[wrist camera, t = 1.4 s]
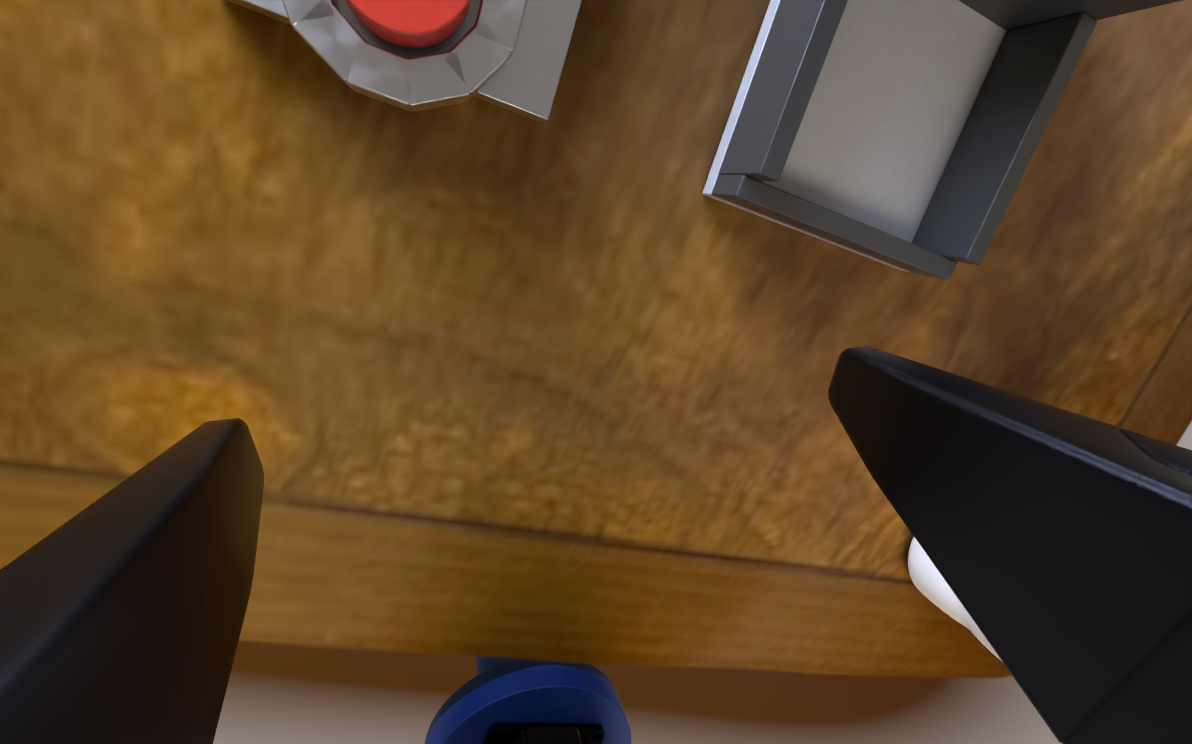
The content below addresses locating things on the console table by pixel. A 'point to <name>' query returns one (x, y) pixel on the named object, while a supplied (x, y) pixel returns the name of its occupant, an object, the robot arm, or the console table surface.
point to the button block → (443, 53)
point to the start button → (411, 19)
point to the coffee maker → (899, 119)
